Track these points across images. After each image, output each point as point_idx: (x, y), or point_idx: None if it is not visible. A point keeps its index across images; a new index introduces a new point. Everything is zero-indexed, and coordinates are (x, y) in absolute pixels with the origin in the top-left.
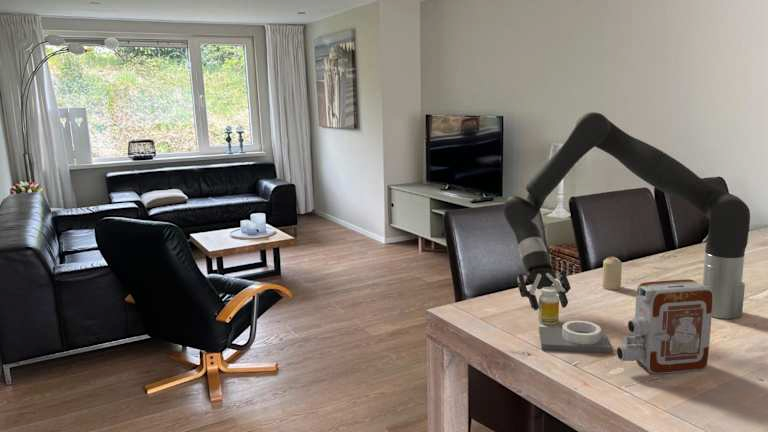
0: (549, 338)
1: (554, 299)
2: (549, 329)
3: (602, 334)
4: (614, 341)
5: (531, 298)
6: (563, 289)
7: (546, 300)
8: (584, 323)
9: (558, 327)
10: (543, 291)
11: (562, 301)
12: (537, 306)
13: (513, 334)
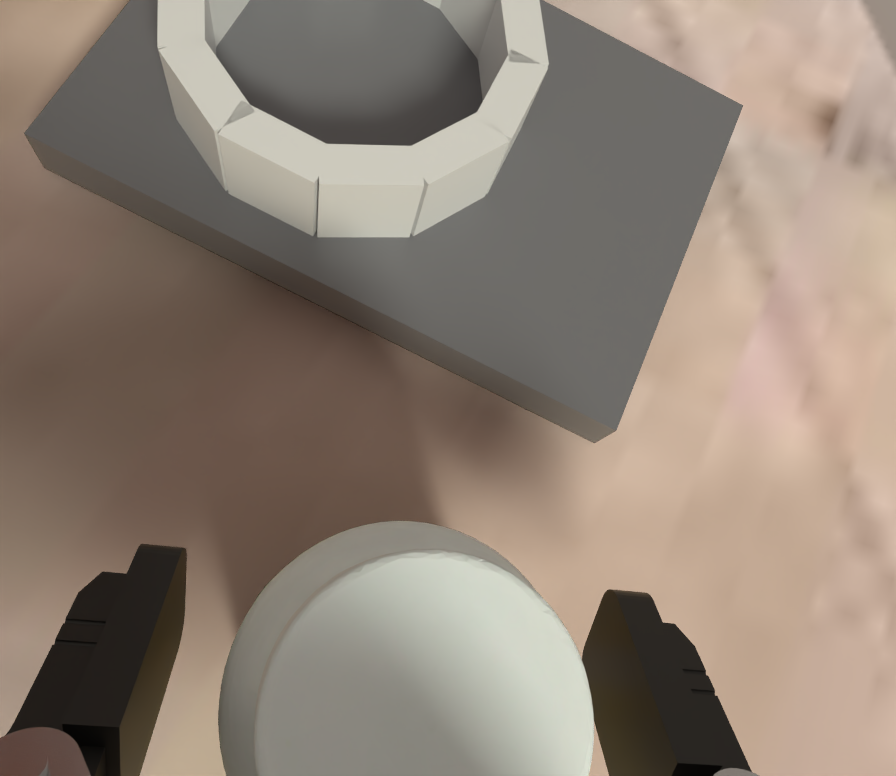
0: (638, 167)
1: (385, 539)
2: (548, 331)
3: (125, 44)
4: (53, 22)
5: (727, 741)
6: (11, 773)
7: (517, 576)
8: (243, 104)
9: (437, 339)
10: (582, 680)
11: (163, 638)
12: (632, 595)
13: (833, 478)
